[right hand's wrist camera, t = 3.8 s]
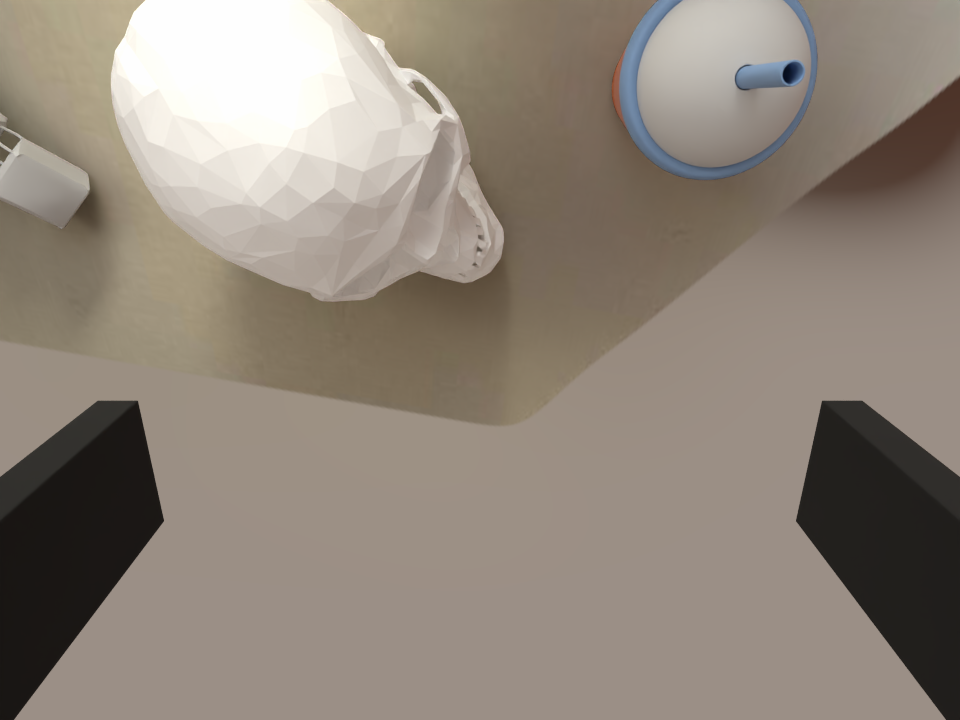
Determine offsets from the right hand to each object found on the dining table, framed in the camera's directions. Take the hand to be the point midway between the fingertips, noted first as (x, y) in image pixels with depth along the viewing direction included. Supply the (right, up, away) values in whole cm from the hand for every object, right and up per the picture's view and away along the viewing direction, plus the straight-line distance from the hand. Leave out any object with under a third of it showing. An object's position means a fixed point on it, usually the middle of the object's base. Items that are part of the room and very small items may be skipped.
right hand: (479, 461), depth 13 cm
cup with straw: (+11, +19, +27) cm, 35 cm away
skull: (-8, +15, +29) cm, 33 cm away
